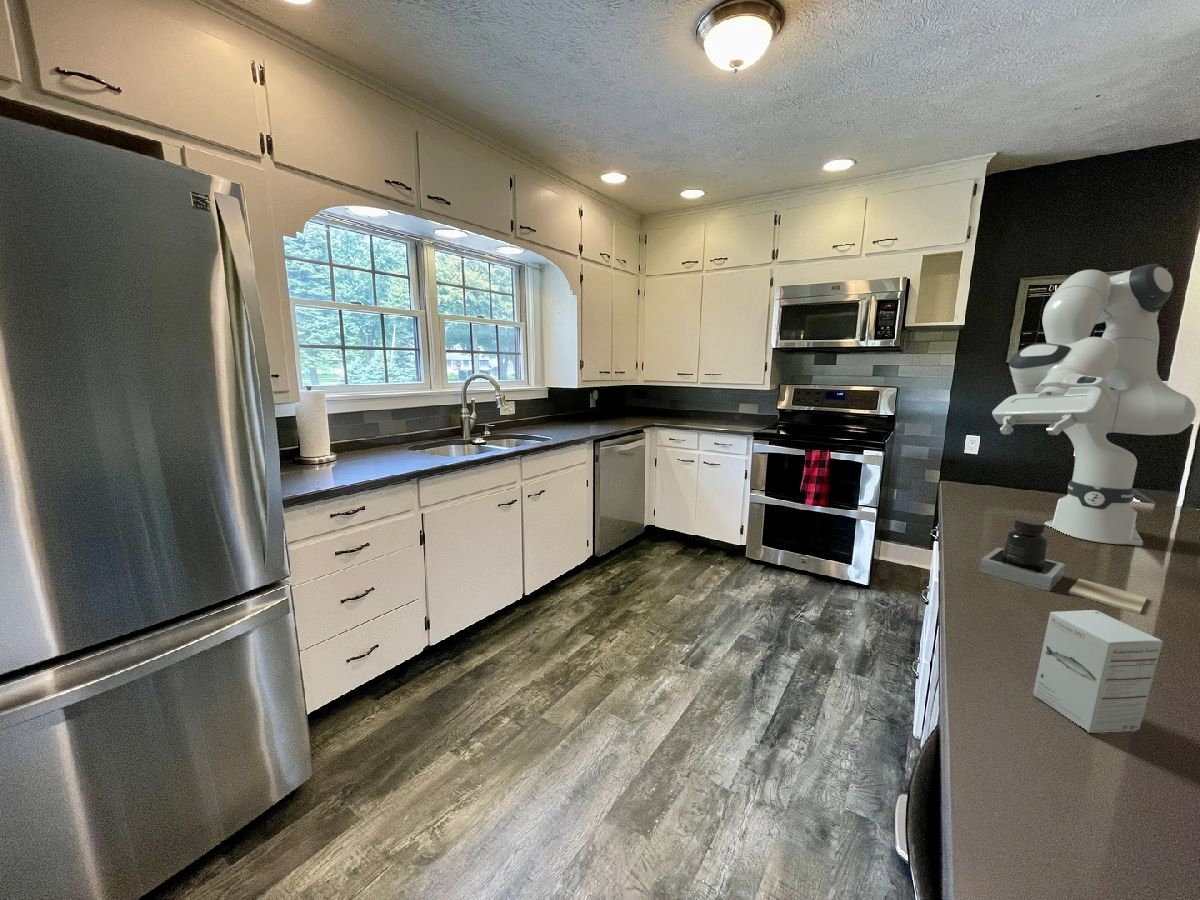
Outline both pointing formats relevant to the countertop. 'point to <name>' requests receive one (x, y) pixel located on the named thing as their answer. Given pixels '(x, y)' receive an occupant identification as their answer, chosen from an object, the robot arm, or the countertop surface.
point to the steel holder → (1022, 571)
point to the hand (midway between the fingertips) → (1026, 432)
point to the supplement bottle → (1026, 545)
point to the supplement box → (1096, 670)
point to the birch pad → (1109, 595)
